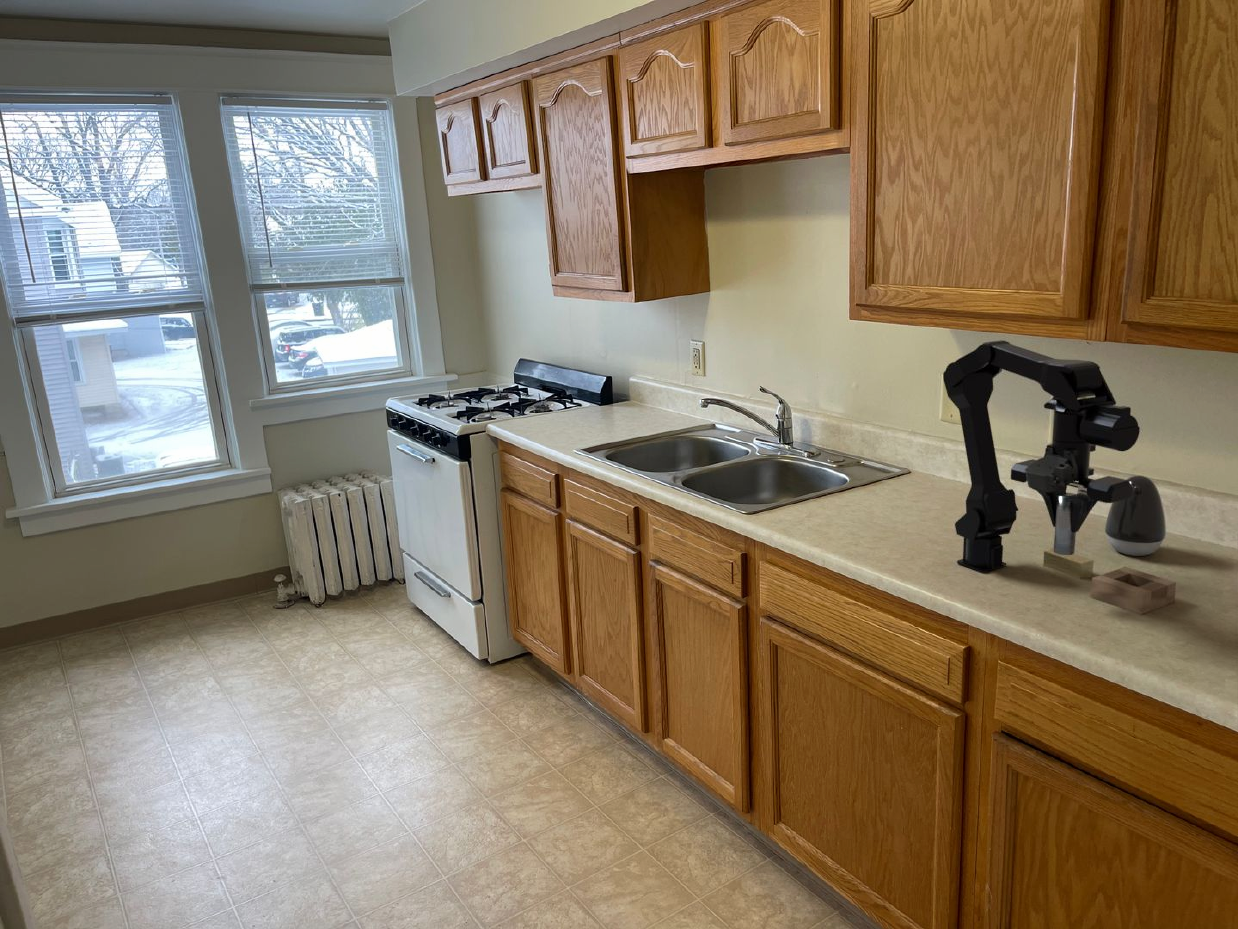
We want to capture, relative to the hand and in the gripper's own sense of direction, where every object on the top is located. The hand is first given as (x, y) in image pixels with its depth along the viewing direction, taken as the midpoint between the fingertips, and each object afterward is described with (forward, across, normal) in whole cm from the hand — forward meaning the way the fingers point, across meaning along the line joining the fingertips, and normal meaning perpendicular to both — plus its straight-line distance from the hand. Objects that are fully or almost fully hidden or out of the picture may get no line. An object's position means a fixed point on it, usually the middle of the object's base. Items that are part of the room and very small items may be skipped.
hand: (1065, 529), depth 154 cm
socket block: (+13, +6, +10) cm, 18 cm away
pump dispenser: (+13, -7, +31) cm, 34 cm away
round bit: (+4, 0, 0) cm, 4 cm away
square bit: (+13, -8, +13) cm, 20 cm away
